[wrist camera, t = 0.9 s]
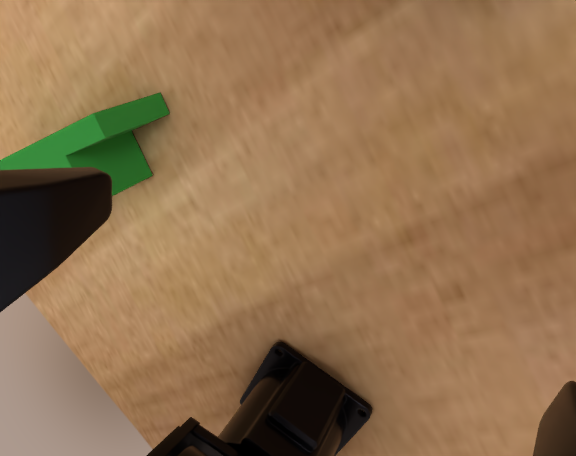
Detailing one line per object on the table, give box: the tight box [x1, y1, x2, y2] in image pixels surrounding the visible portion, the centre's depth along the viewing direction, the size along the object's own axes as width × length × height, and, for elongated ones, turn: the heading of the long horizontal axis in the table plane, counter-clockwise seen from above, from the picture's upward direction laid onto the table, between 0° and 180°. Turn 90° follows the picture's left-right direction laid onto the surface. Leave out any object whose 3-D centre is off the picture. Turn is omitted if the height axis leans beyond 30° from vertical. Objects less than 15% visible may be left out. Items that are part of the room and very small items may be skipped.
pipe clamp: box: [0, 93, 170, 196], centre depth 27 cm, size 11×4×5 cm, turn 113°
